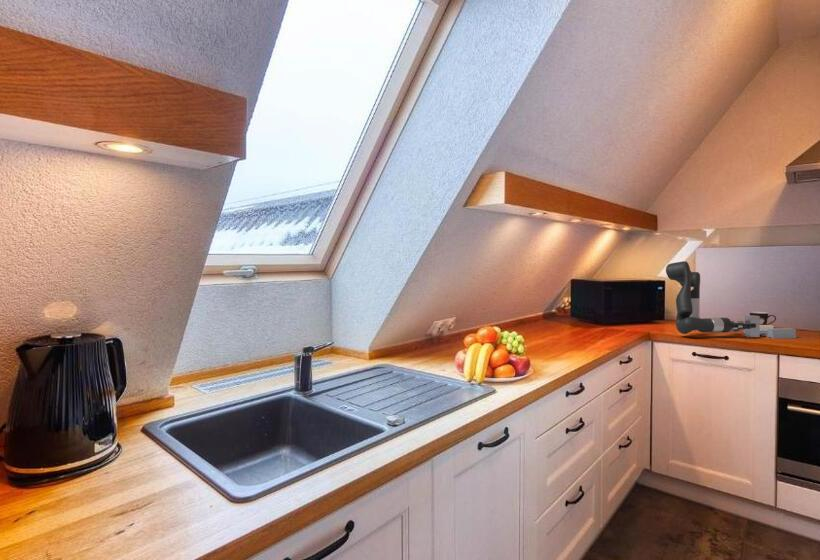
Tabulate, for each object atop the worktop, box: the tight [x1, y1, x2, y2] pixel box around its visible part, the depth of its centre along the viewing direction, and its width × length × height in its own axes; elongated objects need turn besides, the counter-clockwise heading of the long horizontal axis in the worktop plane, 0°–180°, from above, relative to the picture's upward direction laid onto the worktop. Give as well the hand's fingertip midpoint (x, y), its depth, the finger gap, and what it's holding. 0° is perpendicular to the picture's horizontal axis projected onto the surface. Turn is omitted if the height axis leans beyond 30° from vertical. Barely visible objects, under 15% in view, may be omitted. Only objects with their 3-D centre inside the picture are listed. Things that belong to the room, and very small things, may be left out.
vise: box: [742, 327, 797, 339], centre depth 241 cm, size 20×12×4 cm, turn 2°
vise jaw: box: [729, 324, 775, 333], centre depth 247 cm, size 3×22×3 cm, turn 92°
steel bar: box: [744, 315, 761, 338], centre depth 236 cm, size 4×5×11 cm
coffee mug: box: [749, 311, 777, 325], centre depth 260 cm, size 12×9×10 cm
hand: (749, 324), depth 236 cm, fingers open, 8 cm apart
